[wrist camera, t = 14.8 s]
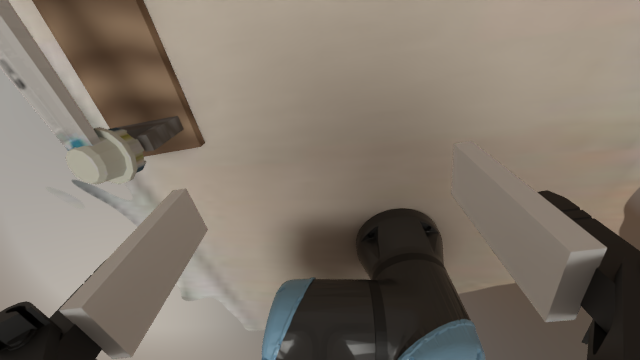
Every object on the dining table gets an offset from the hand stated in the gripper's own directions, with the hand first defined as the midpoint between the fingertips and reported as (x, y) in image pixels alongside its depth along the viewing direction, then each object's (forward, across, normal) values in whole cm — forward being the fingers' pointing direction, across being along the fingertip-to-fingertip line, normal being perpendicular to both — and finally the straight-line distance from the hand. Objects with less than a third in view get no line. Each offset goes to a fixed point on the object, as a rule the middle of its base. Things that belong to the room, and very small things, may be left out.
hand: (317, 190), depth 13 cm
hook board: (+27, +26, -8) cm, 38 cm away
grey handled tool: (+18, +26, -9) cm, 32 cm away
